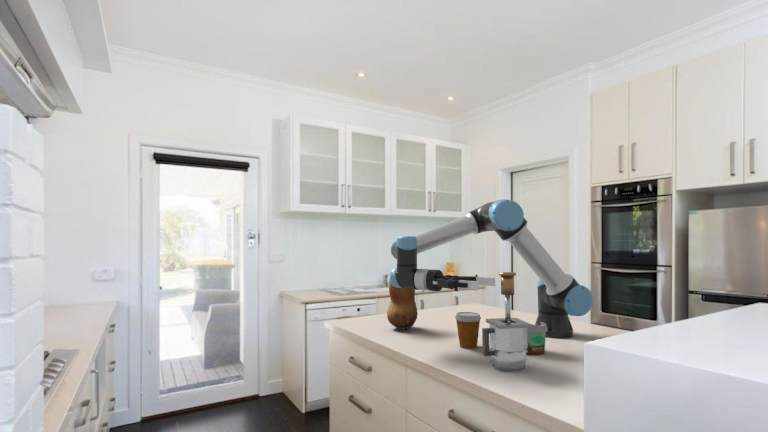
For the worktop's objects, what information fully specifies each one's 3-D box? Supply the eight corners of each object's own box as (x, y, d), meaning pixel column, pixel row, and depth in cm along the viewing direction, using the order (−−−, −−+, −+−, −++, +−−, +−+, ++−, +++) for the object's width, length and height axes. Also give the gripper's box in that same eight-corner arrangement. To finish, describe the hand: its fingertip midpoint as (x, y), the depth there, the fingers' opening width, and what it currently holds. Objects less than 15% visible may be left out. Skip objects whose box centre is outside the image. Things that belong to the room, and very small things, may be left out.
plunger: (513, 325, 136) (512, 271, 137) (525, 330, 128) (524, 273, 129) (491, 326, 135) (490, 271, 135) (502, 331, 127) (501, 273, 128)
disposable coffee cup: (481, 350, 149) (481, 316, 150) (454, 349, 151) (454, 315, 152) (481, 343, 159) (480, 312, 159) (455, 342, 160) (455, 311, 161)
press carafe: (516, 360, 137) (515, 317, 137) (532, 371, 126) (531, 324, 127) (477, 363, 135) (477, 319, 135) (490, 373, 124) (490, 325, 125)
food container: (530, 358, 140) (529, 328, 140) (516, 353, 145) (516, 324, 145) (556, 353, 145) (555, 324, 146) (542, 349, 151) (541, 321, 151)
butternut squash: (382, 327, 187) (381, 271, 189) (407, 324, 194) (406, 270, 195) (398, 333, 175) (397, 274, 176) (424, 330, 182) (423, 272, 183)
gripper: (446, 287, 158) (501, 291, 145) (411, 294, 138) (470, 300, 125) (446, 267, 158) (500, 269, 146) (410, 271, 138) (470, 275, 126)
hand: (487, 283), depth 136 cm, fingers open, 13 cm apart
